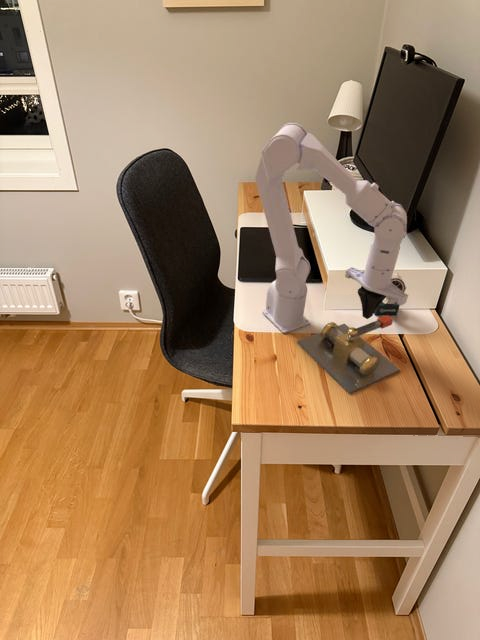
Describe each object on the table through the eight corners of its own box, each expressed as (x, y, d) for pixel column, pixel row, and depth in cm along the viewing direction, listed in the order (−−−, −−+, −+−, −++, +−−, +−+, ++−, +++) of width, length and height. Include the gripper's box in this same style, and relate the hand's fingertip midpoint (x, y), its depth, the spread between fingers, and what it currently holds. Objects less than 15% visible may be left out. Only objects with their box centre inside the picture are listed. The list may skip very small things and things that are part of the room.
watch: (377, 320, 111) (387, 282, 104) (368, 301, 118) (377, 264, 111) (399, 320, 112) (411, 282, 105) (389, 301, 118) (400, 265, 111)
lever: (350, 343, 96) (352, 334, 94) (344, 338, 97) (346, 329, 96) (391, 327, 101) (394, 318, 99) (384, 322, 102) (387, 313, 101)
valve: (296, 342, 103) (299, 326, 100) (344, 325, 109) (347, 309, 106) (349, 394, 91) (354, 377, 88) (399, 371, 97) (405, 354, 94)
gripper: (422, 271, 92) (405, 324, 100) (363, 245, 101) (352, 295, 109) (403, 283, 88) (387, 337, 97) (343, 254, 97) (333, 306, 105)
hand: (367, 316), depth 103 cm, fingers closed
